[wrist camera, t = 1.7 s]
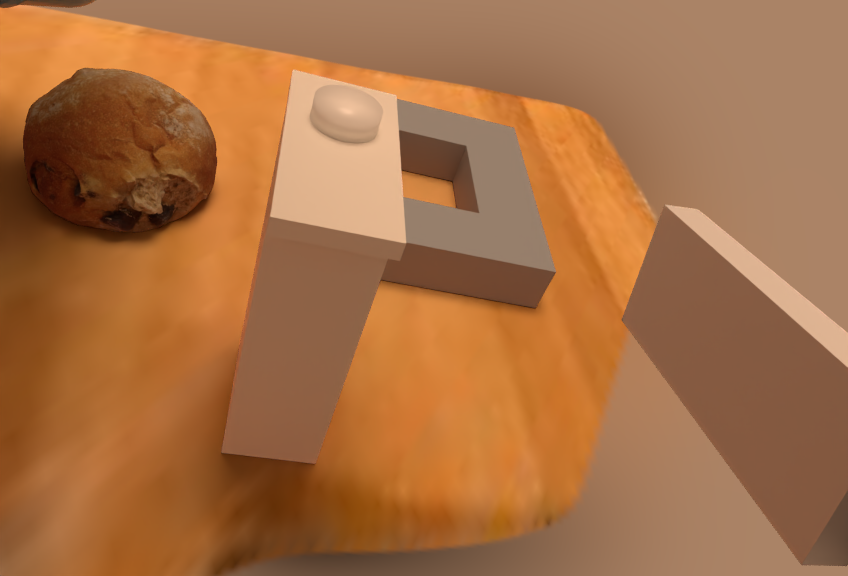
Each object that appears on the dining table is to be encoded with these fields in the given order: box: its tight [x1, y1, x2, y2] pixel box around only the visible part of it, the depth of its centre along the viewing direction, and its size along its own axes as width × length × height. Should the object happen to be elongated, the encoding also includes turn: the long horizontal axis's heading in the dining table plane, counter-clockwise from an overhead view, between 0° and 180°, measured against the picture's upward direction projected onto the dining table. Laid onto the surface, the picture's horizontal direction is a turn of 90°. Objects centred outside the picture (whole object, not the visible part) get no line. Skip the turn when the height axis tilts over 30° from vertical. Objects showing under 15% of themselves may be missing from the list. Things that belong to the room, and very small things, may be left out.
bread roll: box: [23, 68, 217, 233], centre depth 40 cm, size 10×10×8 cm
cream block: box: [221, 70, 406, 464], centre depth 28 cm, size 4×9×15 cm, turn 4°
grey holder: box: [381, 99, 556, 308], centre depth 47 cm, size 14×16×3 cm
